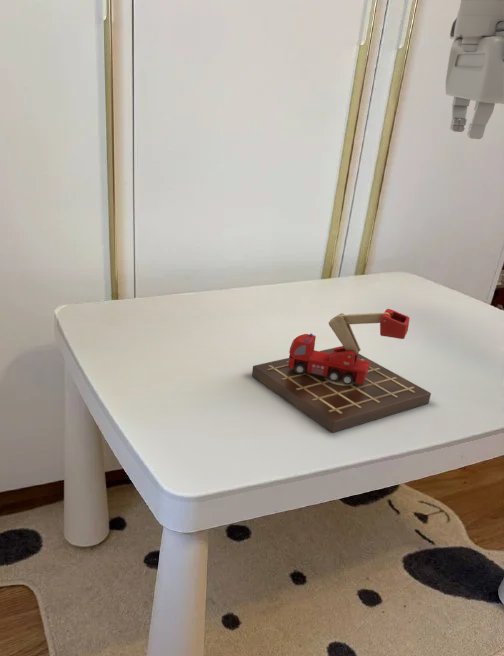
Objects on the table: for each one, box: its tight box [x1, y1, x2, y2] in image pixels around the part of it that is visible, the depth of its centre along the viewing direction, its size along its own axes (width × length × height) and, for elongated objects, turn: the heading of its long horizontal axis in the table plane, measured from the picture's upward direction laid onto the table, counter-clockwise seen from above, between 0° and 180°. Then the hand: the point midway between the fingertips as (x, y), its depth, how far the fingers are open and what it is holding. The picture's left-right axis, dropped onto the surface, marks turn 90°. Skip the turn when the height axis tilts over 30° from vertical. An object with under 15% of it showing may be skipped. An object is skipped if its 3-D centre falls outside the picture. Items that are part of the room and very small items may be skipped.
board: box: [251, 345, 432, 433], centre depth 81 cm, size 16×16×2 cm
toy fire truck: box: [288, 308, 410, 385], centre depth 78 cm, size 3×14×10 cm, turn 66°
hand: (465, 134), depth 91 cm, fingers open, 8 cm apart
